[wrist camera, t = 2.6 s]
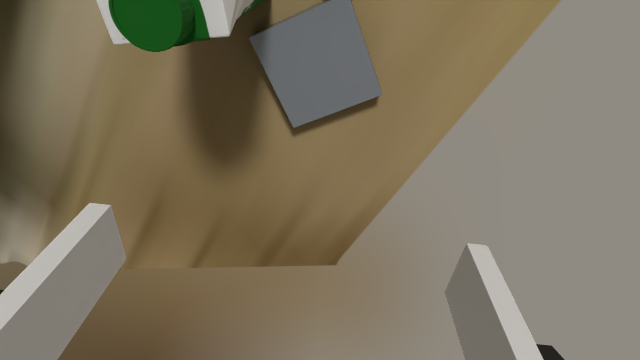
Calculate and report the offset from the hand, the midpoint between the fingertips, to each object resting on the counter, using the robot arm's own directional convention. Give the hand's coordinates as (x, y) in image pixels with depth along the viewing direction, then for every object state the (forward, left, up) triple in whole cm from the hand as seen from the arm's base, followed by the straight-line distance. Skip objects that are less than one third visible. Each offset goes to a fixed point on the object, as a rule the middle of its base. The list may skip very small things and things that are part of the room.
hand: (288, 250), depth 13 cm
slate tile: (+1, -1, -31) cm, 31 cm away
